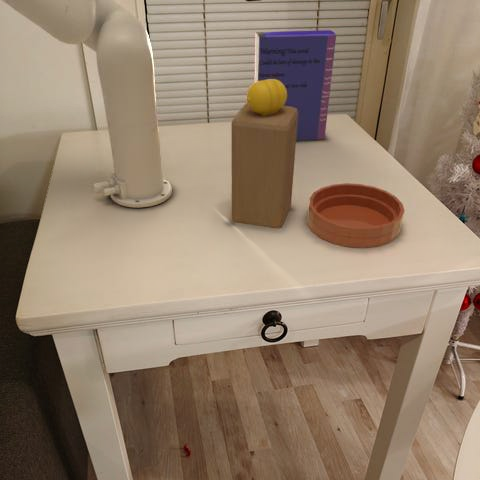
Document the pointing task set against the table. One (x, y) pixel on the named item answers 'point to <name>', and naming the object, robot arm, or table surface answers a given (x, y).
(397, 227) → the fruit bowl
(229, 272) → the table surface
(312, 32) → the purple book
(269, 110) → the lemon
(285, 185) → the wooden block
